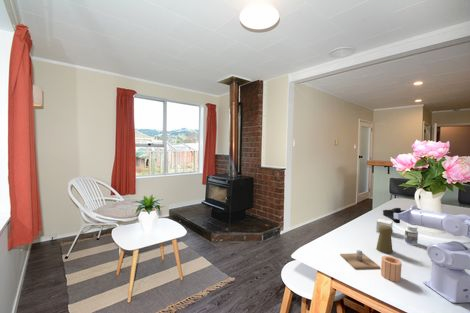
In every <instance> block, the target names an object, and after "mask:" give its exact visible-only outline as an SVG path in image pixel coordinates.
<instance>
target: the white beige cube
mask: <svg viewBox="0 0 470 313" xmlns="http://www.w3.org/2000/svg"><path fill="white" fill-rule="evenodd" d="M393 223H394V221H393V220H387V219H383V218H378V219H377V221H376V228H375V230H376V231H375V232H376V233H378V234H380V232H379V230H378V228H379V226H380V225H386V226H389V227H391V228H392V229H393Z"/></svg>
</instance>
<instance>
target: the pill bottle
mask: <svg viewBox="0 0 470 313" xmlns="http://www.w3.org/2000/svg"><path fill="white" fill-rule="evenodd" d="M418 236H419V231H418V226H417V225H411V224H409V223H407V224H406V227H405V229H404V243H405V244H407V245H411V246H418V239H419V238H418Z"/></svg>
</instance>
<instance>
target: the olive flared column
mask: <svg viewBox="0 0 470 313" xmlns="http://www.w3.org/2000/svg"><path fill="white" fill-rule="evenodd" d="M378 230H379V232H380V233H378V239H377V242H376V243H377V244H376V248H375V249H376V250H377V251H378V252H380V253H382V254H387V255H391V254H393V253H394V252H393V251H394V250H393V243H392V242H393V241H392V234H393V232H394V231H393V227H392V228H391V227H389V226H386V225H380V226H379V228H378Z"/></svg>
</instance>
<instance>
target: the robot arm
mask: <svg viewBox="0 0 470 313" xmlns="http://www.w3.org/2000/svg"><path fill="white" fill-rule="evenodd" d="M382 215H383V217H385V218H388V219H390V221H393V223H395V224H401V221H402V222H405V223H406V224H410V225H414V226H417V227H422V228H428V229H433V230H437V231H443V232H446V233H448V234H449V235H452V236H454V237H461V236H462V237H463V236H464V237H466V238H468V239H470V215H468V214H466V213H461V214H456V215H455V214H449V213H444V212H439V211H431V210H426V209H424V210H423V209H421V208H418V207H417V205H410V207H409V208H408V209H407V210H406V209H404V210H403V209H402V208H401V207H394V208H392V209H383V211H382ZM426 254H427V255H428V258H429V259H430V262H431V270H430V280H424V281H422V283H423V284H424V285H425V286H427V287H428V288H430V289H432V290H433V291H434V292H436V294H438V295H440V296H441V297H443V298H444V299H445V300H447V301H448V302H451V303H452V304H460V303H461V304H462V303H465V304H466V303H470V274H469V272H467V271H470V247H468V246H467V245H465V243H462V242H460V241H457V240H452V241H451V240H450V241H448V242H440V243H430V244H428V245H427V247H426ZM466 270H467V271H466Z"/></svg>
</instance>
